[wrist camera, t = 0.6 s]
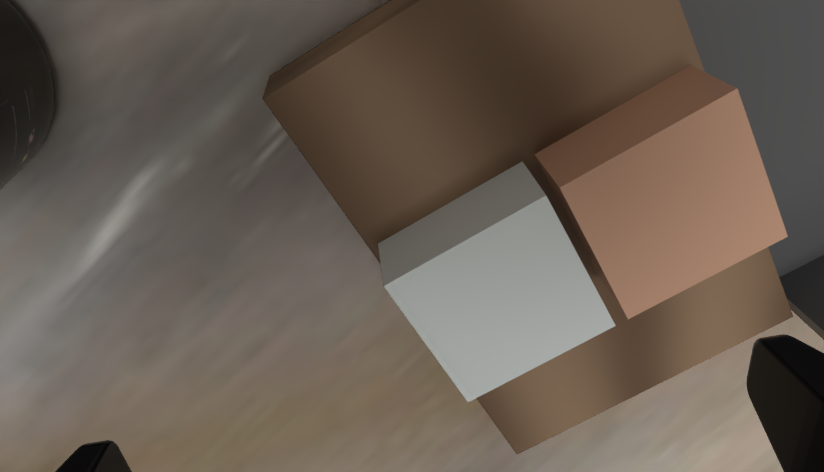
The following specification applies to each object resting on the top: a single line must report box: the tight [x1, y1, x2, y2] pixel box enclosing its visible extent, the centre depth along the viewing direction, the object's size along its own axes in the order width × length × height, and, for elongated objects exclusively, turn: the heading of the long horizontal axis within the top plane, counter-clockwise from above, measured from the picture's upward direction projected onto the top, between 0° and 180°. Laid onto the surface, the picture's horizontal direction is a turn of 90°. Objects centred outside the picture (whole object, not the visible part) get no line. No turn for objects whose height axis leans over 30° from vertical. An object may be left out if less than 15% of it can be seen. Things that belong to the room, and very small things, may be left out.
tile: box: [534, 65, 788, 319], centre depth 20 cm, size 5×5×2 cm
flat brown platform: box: [263, 0, 793, 454], centre depth 22 cm, size 11×16×2 cm
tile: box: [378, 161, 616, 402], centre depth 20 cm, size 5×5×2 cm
